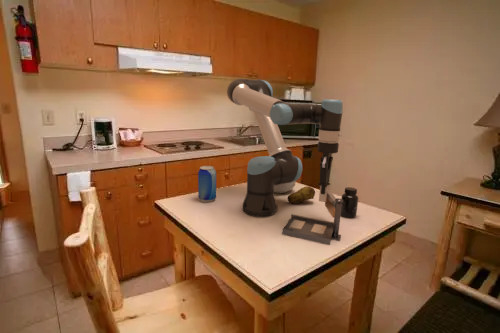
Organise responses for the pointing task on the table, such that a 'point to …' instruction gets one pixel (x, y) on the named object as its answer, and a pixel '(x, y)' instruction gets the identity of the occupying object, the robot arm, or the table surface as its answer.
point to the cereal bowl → (284, 187)
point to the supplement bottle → (349, 203)
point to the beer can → (207, 184)
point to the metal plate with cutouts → (309, 229)
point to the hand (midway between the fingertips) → (322, 201)
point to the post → (337, 220)
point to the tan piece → (330, 203)
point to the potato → (301, 195)
